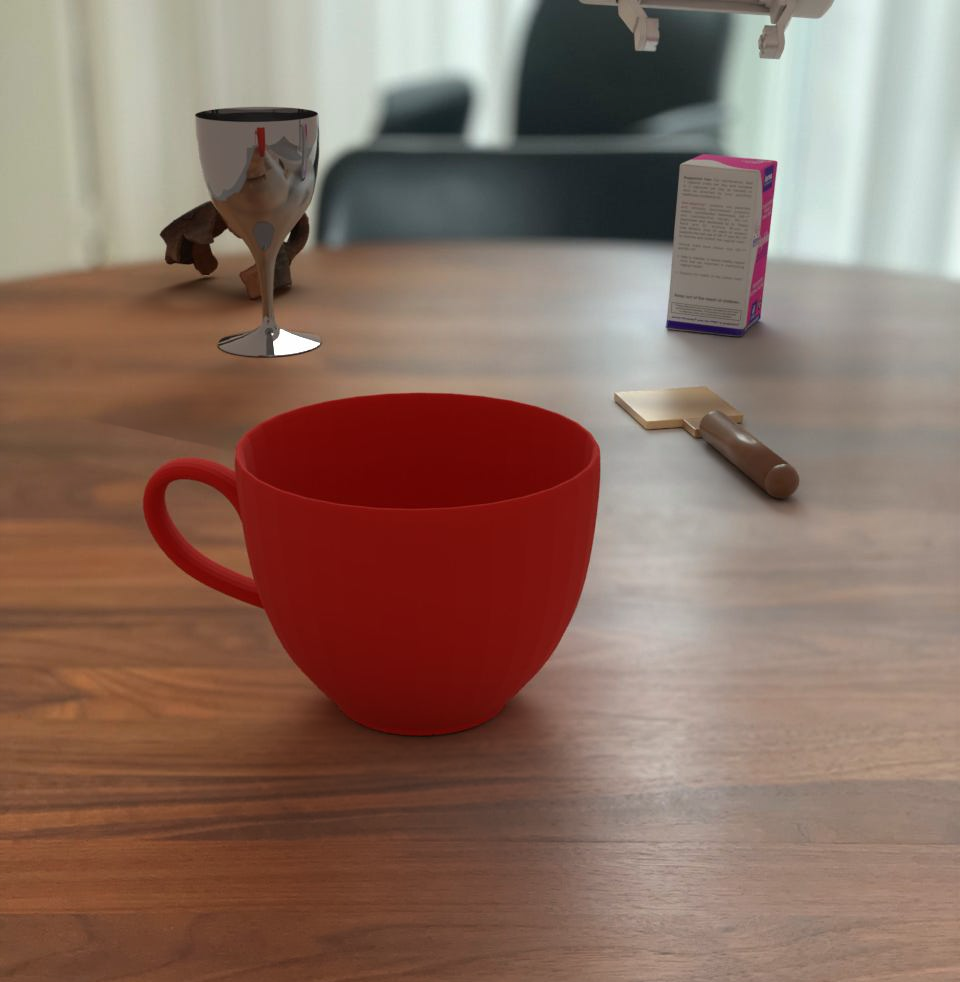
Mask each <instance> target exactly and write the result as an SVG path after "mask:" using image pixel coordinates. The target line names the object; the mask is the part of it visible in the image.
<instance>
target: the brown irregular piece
mask: <svg viewBox="0 0 960 982" xmlns="http://www.w3.org/2000/svg"><path fill="white" fill-rule="evenodd" d="M310 228H311V227H310V219H309V216H308V215H307V212H305V213H304V214H303V216H302V217H301V218H300V220H299V221H298V222H297V223H296V225H295V226H294V227H293V229H292V230H291V231H290V233H289V234H288V238H287V240H286V241H284V242H283V243H282V245H281V247H280V249H279V252H278V254H277V257H276V261H275V269H274V283H273V291H274V290H276V289H279V288H285V287H286V288H287V287H289V286H288V285H290V286H292V285H293V279H292V276H291V274H292V273H291V266H292V262H293V261H294V259H295V257H296V256H297V255H298V254H300V252H301V251H303V250H304V248H305V247H306V244H307V243H308V239H309V237H310V232H311V231H310ZM226 230H228V231H229V232H230V233H231V234H232V235H234V236H235V237H236V238H238V239H241V240H243V239H242V238H241V237H240V236H239V235H238V234H237V233H236V231H235V230H234V229H233V228H232V227H231V226H230V225H229V224H228V223H227V222H226V220H225V219H224V218H223V217H222V216H221V215H220V214H219V212H218V211H217V210H216V208H215V207H214V206H213V204H212V202H211V200H207V201H205V202H203V203H201V204H199V205H197V206H195V207H194V208H191V209H190V210H188V211H186V212H184V213H183V214H181V215H180V216H179V217H177V218H176V219H173V220H172V221H171V222H170V223H169V224H167V225H166V226H165V227H164V228H163V229H162V230H161V231H160V233H159V237H160V238H161V239H162V240H163V242H164V244H165V246H166V248H165V253H164V261H165V263H166V264H167V265H169V266H170V265H174V264H178V265H186V266H187V265H193V267H194V269H195V270H196V271H198V273H199V274H200V275H201V276H203V275H209V276H210V274H212V273H214V272H215V271H216V270H217V269H218V267H219V261H218V259H217V257H216V256H215V255H214V254H213V251H212V247H211V244H214V243H215V238H217V237H219V236H221V235H222V234H223V233H224V232H225V231H226ZM238 276H239V278H240V280H241V282H242V283H243V285H244V286H245V289H246V292H247V294H248V296H249V299H250V300H254V299H256V298H258V297H261V289H260V283H259V277H258V272H257V267H256V263H255V262H254V264H253V265H251V266H249V267H247V268H246V269H244V270H242V271H240V272H239V274H238Z"/></svg>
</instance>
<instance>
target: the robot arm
mask: <svg viewBox="0 0 960 982" xmlns="http://www.w3.org/2000/svg"><path fill="white" fill-rule="evenodd" d="M578 2H580V3H581V4H585V5H595V6H597V5H599V6H613V7H617V9H618V10H617V11H618V16H619V18H620V19H621V20H622V22H624V24H625V25H626V27H627V28H628V29H629V31H630V32H631V33H632V34H633V35H634V36H633V37H634V50H635V52H656V51H657V46H658V44H659V41H660V30H659V27H660V21H659V17H658V18H657V17H648V15H647V13H646V11H645V10H644V9H645V8H646V9H659V10H676V11H689V12H690V11H691V12H707V13H721V14H722V13H723V14H736V15H752V16H767V17H768V16H769V20H770V25H769V24H764V26H763V28H762V31H761V34H760V35H759V38H758V40H757V45H758V47H757V48H758V50H759V52H758V57H759V58H760V59H767V60H780V59H781V57H782V54H783V53H784V50H785V47H786V36H785V32H786V30H787V29H788V27H789V25H790V23H791V21H792V19H793V18H798V19H799V18H800V19H815V20H818V19H821V18H822V17H823V16H825V15H826V14H827V12H828V11H829V10H830V9H831V8H832V6H833V4H834V2H835V0H578Z"/></svg>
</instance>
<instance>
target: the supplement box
mask: <svg viewBox="0 0 960 982" xmlns="http://www.w3.org/2000/svg"><path fill="white" fill-rule="evenodd" d="M778 164H779V163H778V161H777V160H773V159H763V158H750V157H737V156H727V155H716V154H708V153H707V154H706V153H702V154H700V155H698V156H696V157H693V158H691V159H688V160H686V161H684V162H681V163H680V165H679V173H678V181H677V183H678V185H677V195H676V196H677V197H676V207H675V219H674V228H673V229H674V230H673V243H672V256H671V266H670V267H671V269H670V278H669V279H670V281H669V282H670V283H669V293H668V302H667V313H666V322H665V329H668V330H673V331H681V332H682V331H684V332H693V333H694V332H695V333H704V334H712V335H721V336H727V337H728V336H729V337H741V336H743V335H744V334H745V333H746V331H747V330H749V328H751V327H752V326H753V325H754V324H755V323H757V322H759V320H761V316H762V305H763V298H764V297H763V296H764V290H765V289H764V287H765V280H766V272H767V271H766V270H767V262H768V261H767V260H768V253H769V245H770V244H769V243H770V235H771V225H772V216H773V208H774V198H775V189H776V180H777V171H778Z"/></svg>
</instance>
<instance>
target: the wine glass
mask: <svg viewBox="0 0 960 982" xmlns="http://www.w3.org/2000/svg"><path fill="white" fill-rule="evenodd" d="M194 123H195V125H194V126H195V127H194V128H195V139H196V140H195V141H196V145H197V146H196V147H197V156H198V161H199V166H200V170H201V174H202V177H203V182H204V185H205V188H206V192H207V194H208V197H209V199H210V201H211V202H212V204H213V206H214V207H215V208H216V210H217V211H218V212H219V214H220V215H221V216H222V217H223V218H224V219H225V220H226V222H227V223H228V224H229V225H230V226H231V227H232V228H233V229H234V230H235V231H236V233H237V234H238V235H239V236H240V237H241V238H242V239H241V240H242V241H243V242H244V244H245V245H246V246H247V248H248V250H249V251H250V253H251V256H252V258H253V261H254V264H255V263H256V267H257V272H258V277H259V283H260V289H261V296H260V297H261V309H262V311H261V313H262V321H261V324H260V325H259V326H257V327H256V328H254V329H249V330H242V331H237V332H234V333H231V334H228V335H225V336H224V337H221V338H220V339H219V341H217V346H218V349H219V348H220V349H221V350H222V351H224V352H226V353H229V354H234V355H238V356H244V357H245V356H247V357H261V358H262V357H282V356H284V357H285V356H291V355H297V354H298V355H299V354H301V353H306V352H309V351H312V350H315V349H317V348H318V347H320V345H321V344H322V338H321V337H320V336H319V335H317V334H315V333H312V332H310V331H305V330H300V329H290V328H283V327H282V326H280V325H279V324H277V322H276V318H275V309H274V290H273V283H274V269H275V261H276V257H277V254H278V252H279V249H280V247H281V245H282V243H283V242H285V240H286V238H287V237H288V236H289V235H290V231H291V230H292V229H293V227H294V226H295V225H296V223H297V222H298V221H299V220H300V218H301V217H302V216H303V214H304V213H307V212H306V211H307V210H308V208H309V206H310V205H311V203H312V199H313V197H314V193H315V188H316V183H317V178H318V170H319V161H320V121H319V113H318V112H317V111H315V110H311V109H305V108H299V107H298V108H297V107H287V106H286V107H283V106H243V107H241V106H240V107H237V106H236V107H224V108H215V109H207V110H202V111H199V112H196V113H195V114H194Z"/></svg>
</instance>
